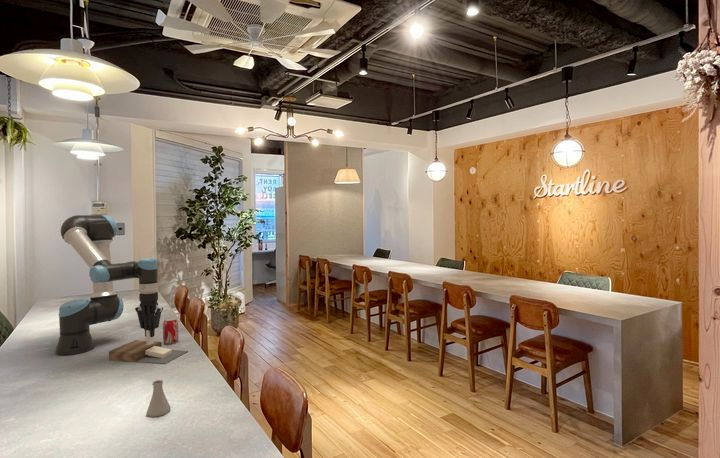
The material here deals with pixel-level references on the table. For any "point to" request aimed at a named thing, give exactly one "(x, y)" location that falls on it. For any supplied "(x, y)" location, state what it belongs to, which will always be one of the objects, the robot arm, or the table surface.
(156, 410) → the flask
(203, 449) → the table surface
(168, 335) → the soda can
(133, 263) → the robot arm
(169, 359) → the mat
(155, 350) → the tile
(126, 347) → the deck
